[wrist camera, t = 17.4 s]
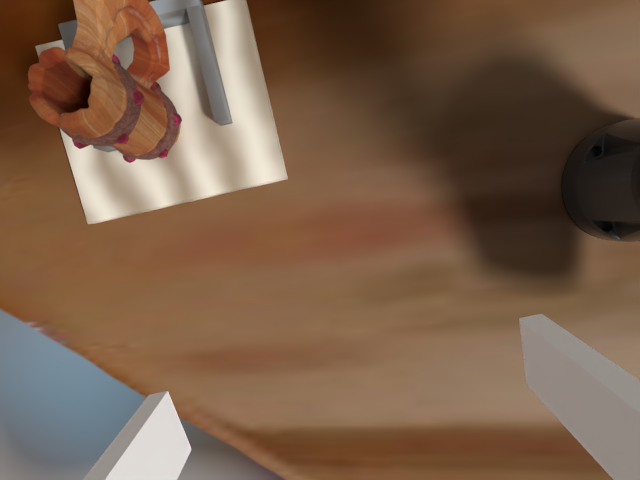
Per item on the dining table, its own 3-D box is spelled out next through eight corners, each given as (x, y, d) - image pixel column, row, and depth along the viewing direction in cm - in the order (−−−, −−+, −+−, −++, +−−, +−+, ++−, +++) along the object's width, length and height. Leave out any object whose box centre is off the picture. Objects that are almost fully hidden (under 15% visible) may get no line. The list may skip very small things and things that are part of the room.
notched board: (246, 2, 38) (239, -20, 35) (288, 179, 40) (285, 175, 37) (43, 51, 39) (15, 34, 35) (94, 223, 41) (72, 224, 37)
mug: (171, 179, 39) (80, 160, 24) (111, 150, 39) (-20, 112, 24) (219, 70, 38) (155, -22, 23) (157, 39, 38) (51, -75, 23)
